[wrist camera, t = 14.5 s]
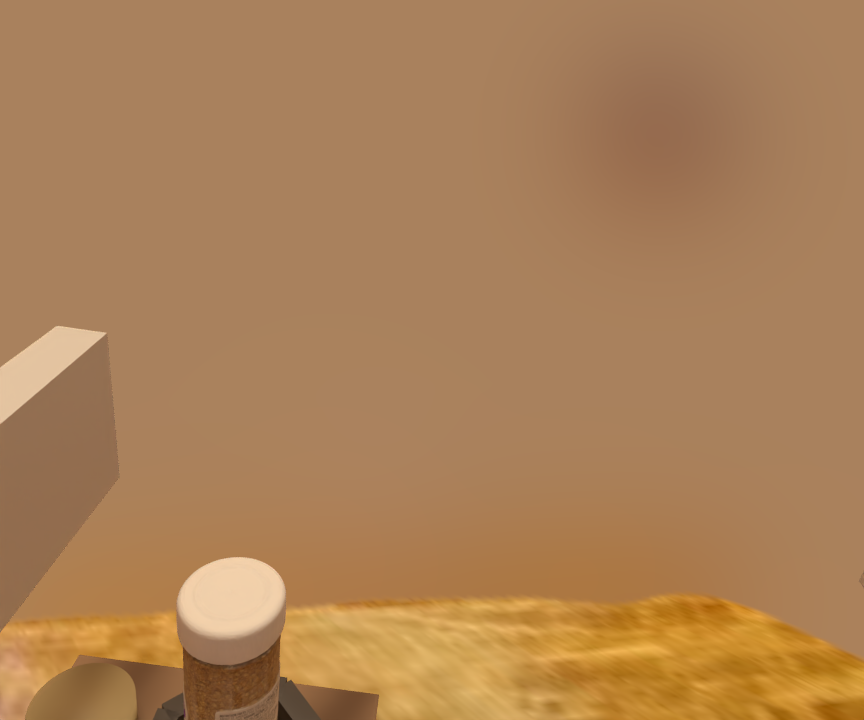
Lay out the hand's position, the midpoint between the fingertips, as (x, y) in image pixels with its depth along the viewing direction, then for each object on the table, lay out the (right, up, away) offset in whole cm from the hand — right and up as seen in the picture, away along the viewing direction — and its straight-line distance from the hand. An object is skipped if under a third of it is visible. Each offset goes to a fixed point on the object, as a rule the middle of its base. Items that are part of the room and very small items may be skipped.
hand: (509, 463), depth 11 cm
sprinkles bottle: (-12, -20, +24) cm, 33 cm away
